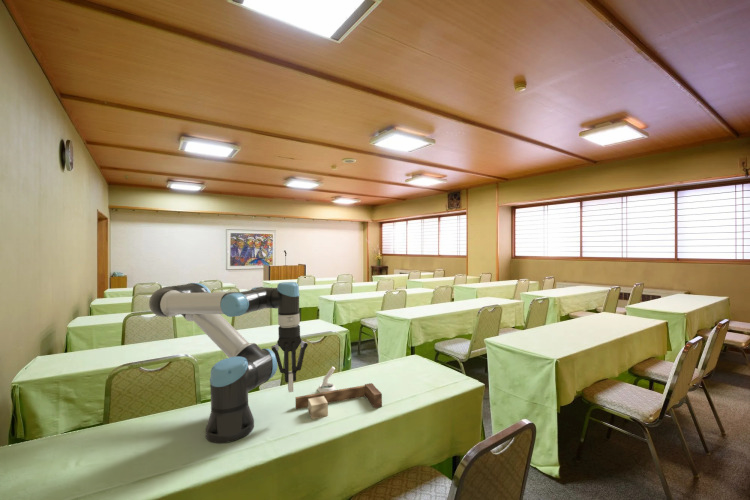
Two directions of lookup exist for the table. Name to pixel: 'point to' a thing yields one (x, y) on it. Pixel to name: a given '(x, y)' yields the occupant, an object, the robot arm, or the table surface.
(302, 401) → the guide rail
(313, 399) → the beige wooden block
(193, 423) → the table surface
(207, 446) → the table surface
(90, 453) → the table surface
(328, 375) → the hook
